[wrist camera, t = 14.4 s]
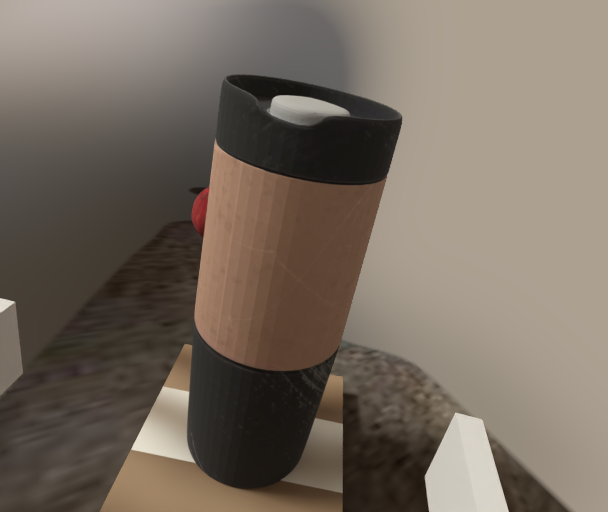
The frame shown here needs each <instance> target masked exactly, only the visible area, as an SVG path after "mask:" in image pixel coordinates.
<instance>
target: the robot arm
mask: <svg viewBox="0 0 608 512" xmlns="http://www.w3.org/2000/svg"><path fill="white" fill-rule="evenodd" d="M22 374H23V370H22V360H21V351H20V342H19V333H18V324H17V314H16V306H15V302H13V301H9V300H5V299H1V298H0V395H1V394H2V393H3V392H4V391H5V390H6V389H7V388H8V387H9V386H10V385H11V384H12V383H13V382H14V381H15V380H16V379H17V378H18V377H19V376H21V375H22ZM425 482H426V490H427V499H428V507H429V512H509V511H508V507H507V504H506V500H505V497H504V494H503V490H502V487H501V483H500V480H499V476H498V473H497V469H496V466H495V462H494V459H493V455H492V452H491V448H490V445H489V441H488V438H487V434H486V431H485V427H484V424H483V421H482V419H478V418H474V417H470V416H466V415H462V414H458V413H455V415H454V417H453V419H452V421H451V423H450V425H449V427H448V429H447V432H446V434H445V436H444V438H443V440H442V442H441V444H440V446H439V448H438V450H437V452H436V454H435V456H434V459H433V461H432V463H431V465H430V467H429V469H428V471H427V473H426V475H425Z"/></svg>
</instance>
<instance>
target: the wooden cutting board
mask: <svg viewBox="0 0 608 512" xmlns="http://www.w3.org/2000/svg"><path fill="white" fill-rule="evenodd" d="M191 358H192V345H187V344H185V345H184V347H183V349H182V351H181V353H180V355H179V357H178V359H177V361H176V363H175V364H174V366H173V368H172V370H171V372H170V374H169V376H168V378H167V380H166V382H165V384H164V386H163V388H162V390H161V392H160V394H159V396H158V398H157V400H156V402H155V404H154V406H153V408H152V410H151V412H150V414H149V416H148V418H147V419H146V421H145V423H144V425H143V427H142V429H141V431H140V433H139V435H138V437H137V439H136V441H135V443H134V445H133V447H132V449H131V451H130V453H129V455H128V457H127V459H126V461H125V463H124V465H123V467H122V469H121V471H120V473H119V474H118V476H117V478H116V480H115V482H114V484H113V486H112V488H111V490H110V492H109V494H108V496H107V498H106V500H105V502H104V504H103V506H102V508H101V510H100V512H343V377H339V376H335V375H329V378H328V381H327V384H326V387H325V390H324V393H323V396H322V399H321V402H320V405H319V408H318V411H317V414H316V417H315V420H314V423H313V426H312V429H311V432H310V435H309V438H308V440H307V443H306V446H305V449H304V451H303V454H302V456H301V459H300V461H299V462H298V464H297V465H296V467H295V468H294V469H293V470H292V471H291V472H290V473H289V474H288V475H287V476H286V477H284V478H283V479H281V480H280V481H278V482H276V483H274V484H271V485H268V486H265V487H259V488H237V487H232V486H229V485H225V484H223V483H220V482H218V481H216V480H214V479H213V478H211V477H209V476H208V475H207V474H206V473H204V472H203V471H202V470H201V469H200V468H199V467H198V465H197V464H196V463H195V461H194V460H193V458H192V456H191V454H190V450H189V447H188V442H187V418H188V402H189V387H190V372H191Z"/></svg>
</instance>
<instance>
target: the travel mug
mask: <svg viewBox="0 0 608 512" xmlns="http://www.w3.org/2000/svg"><path fill="white" fill-rule="evenodd" d="M401 124H402V115H401V114H400V113H399V112H397V111H396V110H394V109H393V108H390V107H388V106H386V105H384V104H381V103H378V102H376V101H373V100H370V99H367V98H364V97H361V96H357V95H354V94H350V93H346V92H343V91H339V90H335V89H331V88H327V87H323V86H318V85H313V84H308V83H304V82H298V81H292V80H287V79H281V78H274V77H266V76H258V75H230V76H227V77H225V78H224V81H223V83H222V88H221V96H220V104H219V112H218V120H217V129H216V140H215V146H214V155H213V163H212V171H211V180H210V188H209V196H208V205H207V213H206V221H205V230H204V238H203V247H202V255H201V263H200V272H199V280H198V289H197V297H196V306H195V318H194V328H193V343H192V358H191V372H190V387H189V402H188V418H187V442H188V447H189V450H190V454H191V456H192V458H193V460H194V461H195V463H196V464H197V465H198V467H199V468H200V469H201V470H202V471H203V472H204V473H206V474H207V475H208V476H209V477H211V478H213V479H214V480H216V481H218V482H220V483H223V484H225V485H229V486H232V487H237V488H259V487H265V486H268V485H271V484H274V483H276V482H278V481H280V480H281V479H283V478H284V477H286V476H287V475H288V474H289V473H290V472H291V471H292V470H293V469H294V468H295V467H296V465H297V464H298V462H299V461H300V459H301V456H302V454H303V451H304V449H305V446H306V443H307V440H308V438H309V435H310V432H311V429H312V426H313V423H314V420H315V417H316V414H317V411H318V408H319V405H320V402H321V399H322V396H323V393H324V390H325V387H326V384H327V381H328V378H329V375H330V372H331V369H332V366H333V363H334V360H335V357H336V354H337V351H338V348H339V344H340V342H341V339H342V335H343V332H344V328H345V325H346V321H347V317H348V314H349V310H350V307H351V303H352V299H353V296H354V292H355V289H356V285H357V282H358V278H359V274H360V271H361V268H362V264H363V260H364V257H365V253H366V250H367V246H368V243H369V239H370V236H371V232H372V228H373V225H374V221H375V218H376V214H377V211H378V207H379V203H380V199H381V196H382V193H383V189H384V186H385V182H386V178H387V174H388V172H389V168H390V164H391V161H392V157H393V154H394V150H395V147H396V143H397V140H398V136H399V132H400V129H401Z"/></svg>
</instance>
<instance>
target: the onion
mask: <svg viewBox="0 0 608 512" xmlns="http://www.w3.org/2000/svg"><path fill="white" fill-rule="evenodd" d="M209 188H210V187H208V188H206V189H205V190H203V191H202V192H201V193H200V194H199V195H198V197H197V198H196V200H195V202H194V205H193V210H192V222H193V224H194V226H195V228H196V230H197V231H198V233H199V234H200V235H201V236H202V237H203V238H204V230H205V221H206V213H207V205H208V196H209Z"/></svg>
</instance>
